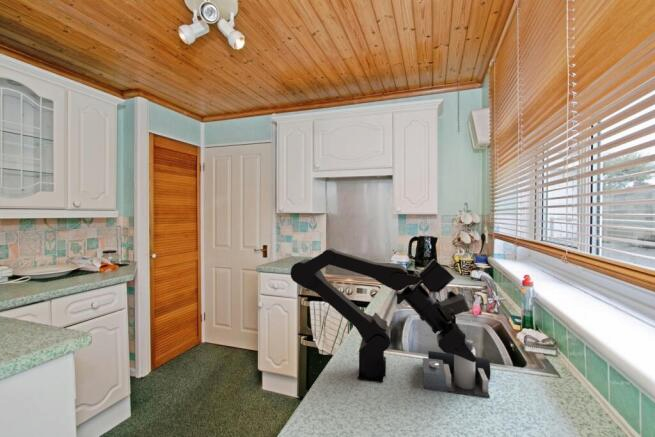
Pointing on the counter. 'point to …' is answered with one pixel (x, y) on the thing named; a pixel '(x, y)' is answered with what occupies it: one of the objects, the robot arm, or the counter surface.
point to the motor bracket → (451, 379)
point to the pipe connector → (449, 359)
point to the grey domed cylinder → (465, 369)
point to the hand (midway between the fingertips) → (470, 352)
